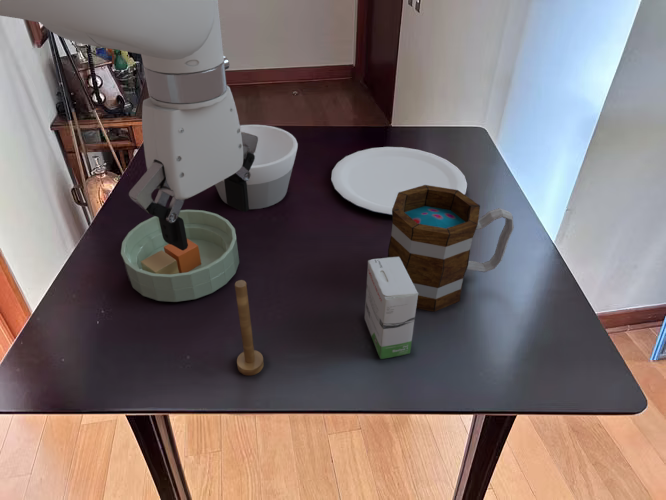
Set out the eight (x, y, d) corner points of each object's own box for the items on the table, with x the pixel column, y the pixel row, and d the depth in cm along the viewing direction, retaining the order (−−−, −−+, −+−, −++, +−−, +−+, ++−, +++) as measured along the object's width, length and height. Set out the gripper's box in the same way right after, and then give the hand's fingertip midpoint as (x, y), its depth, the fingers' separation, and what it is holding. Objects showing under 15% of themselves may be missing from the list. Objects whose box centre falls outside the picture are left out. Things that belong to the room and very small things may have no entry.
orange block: (182, 275, 85) (178, 256, 83) (167, 265, 87) (163, 246, 85) (201, 264, 88) (198, 245, 85) (187, 254, 90) (183, 236, 87)
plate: (464, 159, 121) (465, 152, 120) (468, 229, 99) (469, 222, 98) (342, 147, 125) (342, 140, 124) (318, 212, 102) (318, 205, 101)
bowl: (241, 161, 119) (236, 117, 112) (315, 181, 112) (314, 135, 105) (187, 201, 105) (178, 153, 98) (268, 226, 98) (264, 177, 92)
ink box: (411, 354, 74) (421, 293, 67) (378, 360, 73) (384, 299, 66) (393, 313, 80) (400, 253, 73) (362, 317, 80) (366, 257, 72)
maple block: (159, 291, 82) (155, 272, 80) (145, 280, 84) (140, 261, 82) (180, 278, 85) (176, 260, 82) (166, 268, 87) (161, 249, 84)
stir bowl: (173, 322, 78) (166, 293, 74) (108, 271, 87) (98, 243, 84) (261, 265, 89) (258, 237, 85) (195, 225, 98) (190, 198, 95)
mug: (391, 314, 80) (401, 236, 71) (376, 260, 91) (383, 186, 82) (513, 306, 82) (537, 229, 73) (484, 254, 93) (502, 181, 83)
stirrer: (249, 380, 70) (239, 298, 61) (232, 366, 72) (219, 284, 62) (269, 364, 72) (261, 282, 63) (251, 351, 74) (241, 270, 65)
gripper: (223, 52, 58) (237, 186, 68) (84, 97, 46) (126, 249, 57) (274, 66, 54) (281, 204, 64) (137, 118, 43) (172, 275, 53)
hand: (209, 225), depth 61 cm, fingers open, 9 cm apart
